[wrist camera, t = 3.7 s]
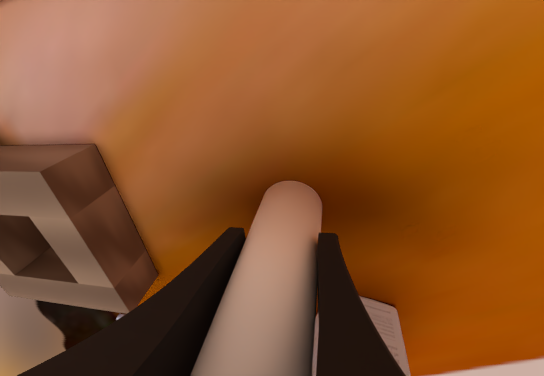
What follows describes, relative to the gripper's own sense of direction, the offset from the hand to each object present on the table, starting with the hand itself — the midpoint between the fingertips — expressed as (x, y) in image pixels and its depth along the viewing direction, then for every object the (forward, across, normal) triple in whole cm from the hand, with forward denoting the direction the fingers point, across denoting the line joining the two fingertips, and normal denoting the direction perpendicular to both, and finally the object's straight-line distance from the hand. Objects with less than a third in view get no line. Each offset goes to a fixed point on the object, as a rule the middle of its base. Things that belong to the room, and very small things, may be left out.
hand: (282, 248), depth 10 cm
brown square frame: (+3, +15, +2) cm, 15 cm away
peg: (+3, 0, 0) cm, 3 cm away
